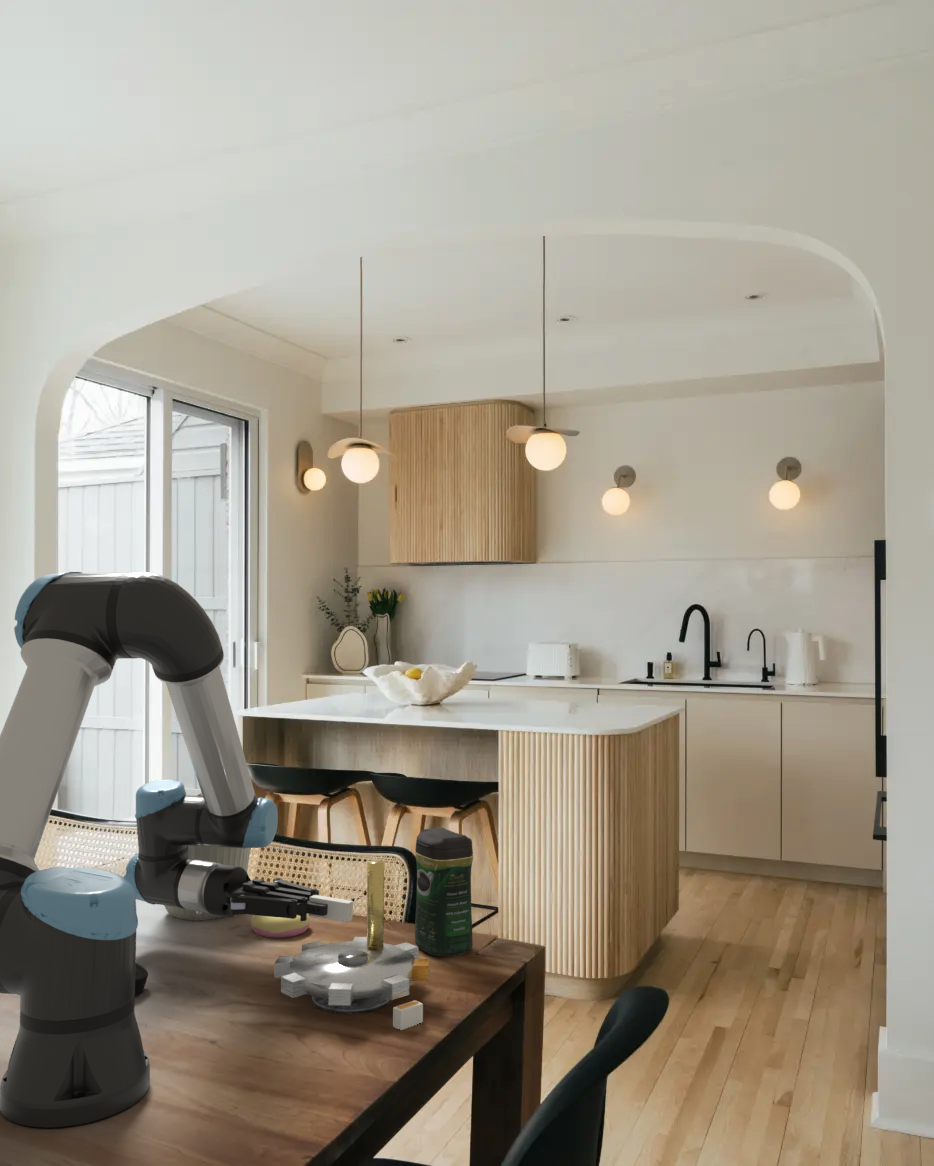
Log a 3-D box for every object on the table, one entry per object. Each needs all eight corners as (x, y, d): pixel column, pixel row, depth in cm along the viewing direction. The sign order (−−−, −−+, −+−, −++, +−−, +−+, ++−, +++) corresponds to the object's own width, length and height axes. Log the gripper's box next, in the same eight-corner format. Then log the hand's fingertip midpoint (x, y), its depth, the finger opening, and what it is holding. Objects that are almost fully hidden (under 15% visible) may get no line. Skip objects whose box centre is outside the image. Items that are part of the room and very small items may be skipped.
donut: (275, 956, 159) (321, 935, 165) (274, 930, 158) (321, 909, 165) (240, 933, 166) (286, 913, 172) (239, 908, 165) (285, 889, 171)
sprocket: (385, 1014, 121) (386, 899, 122) (244, 990, 129) (246, 882, 130) (452, 962, 140) (452, 863, 141) (326, 943, 148) (327, 850, 149)
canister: (276, 908, 177) (278, 790, 178) (198, 934, 162) (201, 805, 163) (207, 893, 187) (209, 781, 188) (127, 916, 172) (130, 794, 173)
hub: (369, 1019, 128) (369, 997, 128) (296, 1006, 132) (296, 985, 132) (406, 990, 138) (406, 970, 138) (337, 979, 142) (337, 960, 142)
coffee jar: (480, 953, 154) (481, 833, 154) (436, 961, 150) (436, 838, 150) (450, 936, 162) (451, 822, 163) (407, 943, 158) (408, 827, 159)
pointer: (400, 1030, 124) (401, 1009, 124) (393, 1026, 125) (393, 1005, 125) (422, 1022, 126) (422, 1002, 127) (414, 1019, 128) (415, 998, 128)
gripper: (239, 902, 159) (369, 925, 150) (188, 924, 147) (326, 950, 138) (241, 855, 159) (372, 875, 150) (190, 873, 147) (329, 896, 138)
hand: (350, 911), depth 144 cm, fingers closed
